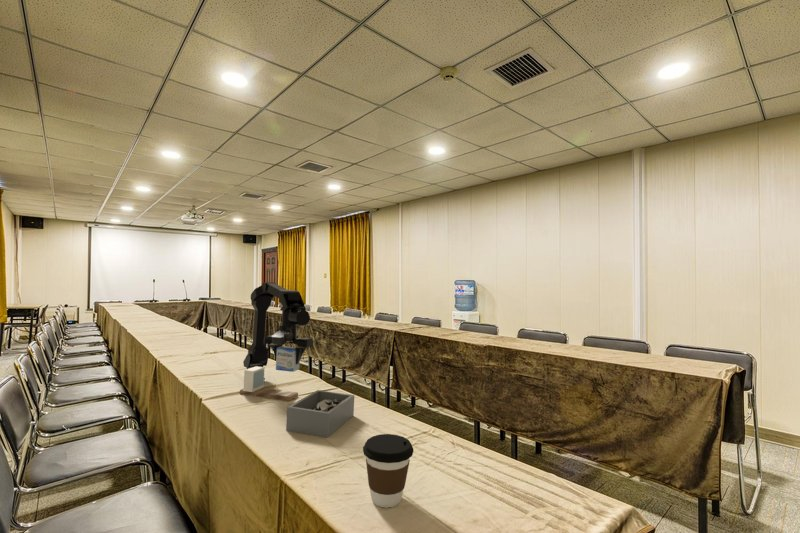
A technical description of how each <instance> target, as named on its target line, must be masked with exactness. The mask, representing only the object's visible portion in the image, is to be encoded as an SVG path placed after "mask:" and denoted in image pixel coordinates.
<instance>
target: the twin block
mask: <svg viewBox="0 0 800 533" xmlns="http://www.w3.org/2000/svg"><path fill="white" fill-rule="evenodd" d="M265 368H266V366H263V367H258V366H255V367H252V368H249V369H247V368H246V369H244V372H243V373H244V375H243V388H244V390H243V391H248V392H254V391H256V390H258V389H261V388H265V386H264V384H265V379H264V378H265Z"/></svg>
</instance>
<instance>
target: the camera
mask: <svg viewBox="0 0 800 533" xmlns="http://www.w3.org/2000/svg"><path fill="white" fill-rule="evenodd" d="M341 402H342V400H341V399H337V400H336V399H335V400H334V401H333V402H332V400H323V401H321V402H319V403H318V404H317V406H316V407H315V408H313V409H311V410H318V411H324V412H328V411H329V410H331V409H332V408H334V407H335V406H336V405H338V404H339V403H341Z"/></svg>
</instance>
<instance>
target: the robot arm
mask: <svg viewBox="0 0 800 533" xmlns="http://www.w3.org/2000/svg"><path fill="white" fill-rule="evenodd" d="M274 298H278V303H279V304H281V308H280V309H279V310H280V311H282V313H281V325H279V326H278V331H276V332H275V333H274V334H270V335H266V326H267V325H266V324H267V311H268V309H269V308H270V307H271V305H272V300H273V299H274ZM250 301H251V303H250V304H251V306H252V308H253V309H254V318H253V333H252V334H253V335H252V343H251V345H250V346H249V348H248V349H247V354H246V356H245V358H244V360H243V361H242V362H243V367H245V368H246V369H249V368H252V367H255V366H258V367H267V366H268V365H267V364H268V361H269V347H270V348H271V350H272V352H273V354H274V356H275V358H276V356H277V348H278V347H281V346H285V344H291V345H292V344H293V345H297V346H294V347H295V349H296V364H298V363H299V364H300V362H299V361H301V359H302V357H303V355H304V353H305V351H306V349H307V348H310V347H312V346H314V340H313V338H312V337H306V336H305V337H300V338H299V335H297V334H298V333H297V331H298V330H297V329H298V328H299V326H306V325H308V323H309V322H310V320H311V316H310V313H309V312H308V310H307V309H306V306H305V302H304V300H303V297H302V294H301V293H300V291H299V290H293V289H287V288H285V287H283V286H281V285H279V284H277V282H274V281H265V282H263V283H262V284H261V285H260V286H257V287H256V288H254V290H253V291H252V292H251V294H250ZM266 345H267V346H268V347H267V346H266ZM264 380H266V378H265V377H264Z"/></svg>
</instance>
